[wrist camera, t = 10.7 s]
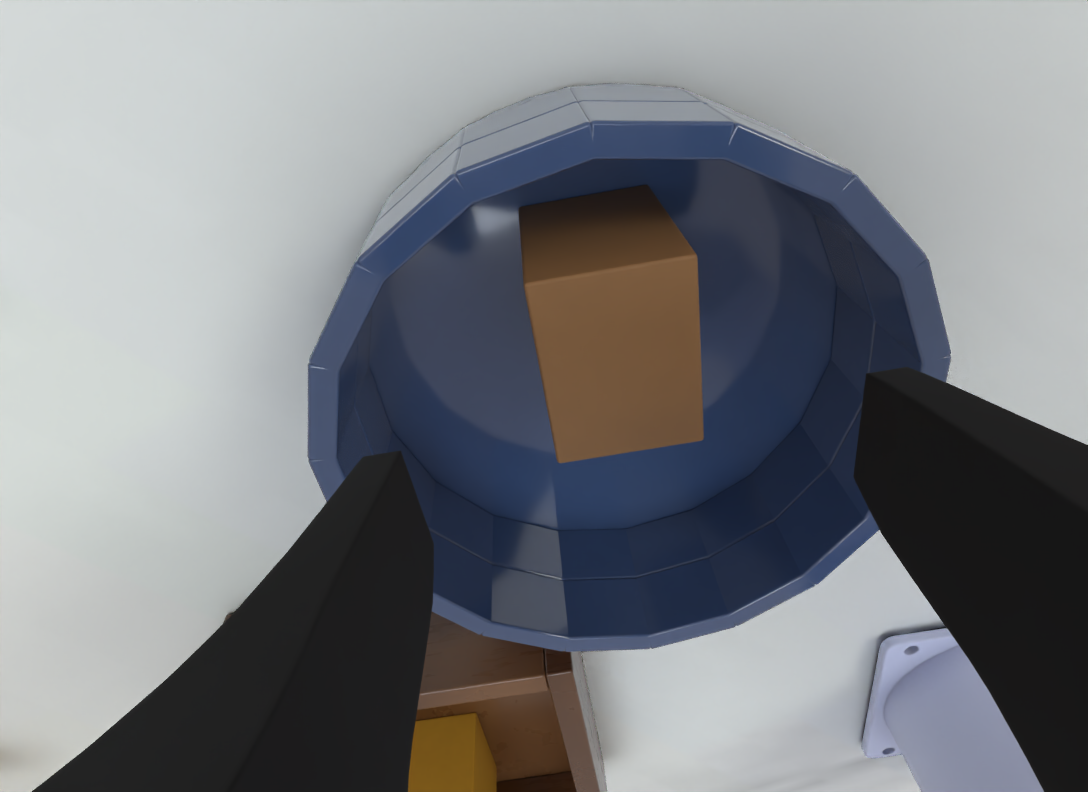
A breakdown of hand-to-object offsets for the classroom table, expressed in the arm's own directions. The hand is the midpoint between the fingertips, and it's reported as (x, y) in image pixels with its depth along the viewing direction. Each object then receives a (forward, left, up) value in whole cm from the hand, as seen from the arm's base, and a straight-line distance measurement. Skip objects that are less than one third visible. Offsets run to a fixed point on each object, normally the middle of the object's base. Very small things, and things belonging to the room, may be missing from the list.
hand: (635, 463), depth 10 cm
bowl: (0, +2, -7) cm, 8 cm away
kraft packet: (0, 0, -7) cm, 7 cm away
